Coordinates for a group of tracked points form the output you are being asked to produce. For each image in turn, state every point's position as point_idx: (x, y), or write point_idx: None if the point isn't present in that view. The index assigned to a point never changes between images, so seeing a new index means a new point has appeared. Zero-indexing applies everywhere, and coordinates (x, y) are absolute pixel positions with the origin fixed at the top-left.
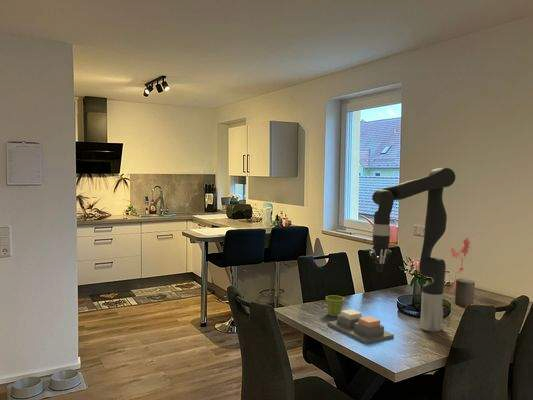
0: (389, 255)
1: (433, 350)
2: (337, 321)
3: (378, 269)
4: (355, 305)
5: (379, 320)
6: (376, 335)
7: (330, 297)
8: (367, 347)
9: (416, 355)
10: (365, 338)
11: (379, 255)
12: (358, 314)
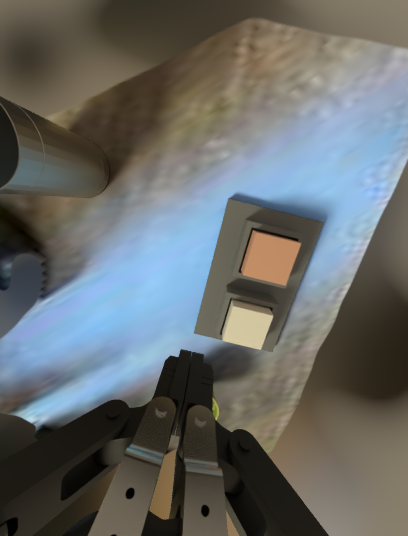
0: (11, 474)
1: (230, 68)
2: None
3: (212, 375)
4: (100, 380)
5: (259, 233)
6: (270, 225)
7: None
8: (337, 207)
9: (301, 83)
10: (310, 232)
11: None
12: (243, 307)
